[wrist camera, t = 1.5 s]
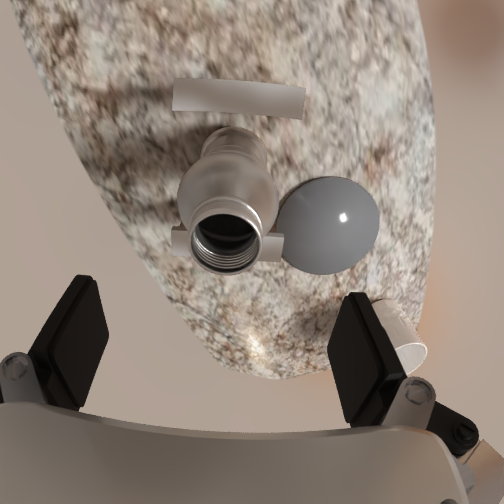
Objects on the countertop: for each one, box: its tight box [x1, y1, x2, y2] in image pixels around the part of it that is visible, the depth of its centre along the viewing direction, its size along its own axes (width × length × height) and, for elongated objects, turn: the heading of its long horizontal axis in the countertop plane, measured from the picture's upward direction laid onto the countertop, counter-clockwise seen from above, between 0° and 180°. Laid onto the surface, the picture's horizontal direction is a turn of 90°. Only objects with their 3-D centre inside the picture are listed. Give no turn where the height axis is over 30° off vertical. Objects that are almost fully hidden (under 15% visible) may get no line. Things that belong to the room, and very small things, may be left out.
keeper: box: [171, 78, 306, 262], centre depth 28 cm, size 16×10×9 cm, turn 175°
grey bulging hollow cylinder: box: [177, 127, 279, 275], centre depth 24 cm, size 6×7×20 cm
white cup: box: [371, 299, 427, 375], centre depth 41 cm, size 8×8×10 cm
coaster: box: [276, 177, 379, 275], centre depth 37 cm, size 13×13×1 cm
